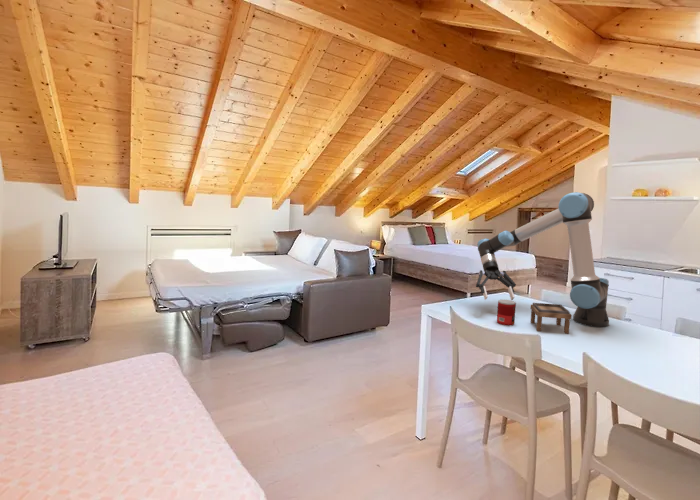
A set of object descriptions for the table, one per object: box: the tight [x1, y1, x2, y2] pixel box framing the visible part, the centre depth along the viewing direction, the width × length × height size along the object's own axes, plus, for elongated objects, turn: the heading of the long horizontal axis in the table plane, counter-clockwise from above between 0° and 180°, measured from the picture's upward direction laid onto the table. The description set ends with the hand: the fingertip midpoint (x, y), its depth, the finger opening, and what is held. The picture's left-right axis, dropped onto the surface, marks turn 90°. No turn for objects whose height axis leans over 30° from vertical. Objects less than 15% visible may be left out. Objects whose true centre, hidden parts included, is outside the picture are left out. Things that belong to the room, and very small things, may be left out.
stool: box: [530, 302, 573, 335], centre depth 178 cm, size 14×14×10 cm
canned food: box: [496, 299, 517, 326], centre depth 184 cm, size 8×8×11 cm
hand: (499, 298), depth 189 cm, fingers open, 13 cm apart
